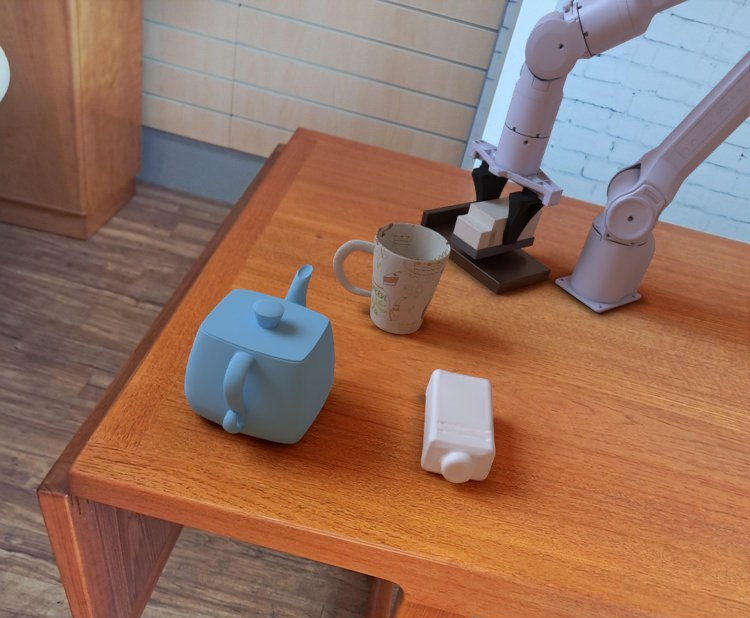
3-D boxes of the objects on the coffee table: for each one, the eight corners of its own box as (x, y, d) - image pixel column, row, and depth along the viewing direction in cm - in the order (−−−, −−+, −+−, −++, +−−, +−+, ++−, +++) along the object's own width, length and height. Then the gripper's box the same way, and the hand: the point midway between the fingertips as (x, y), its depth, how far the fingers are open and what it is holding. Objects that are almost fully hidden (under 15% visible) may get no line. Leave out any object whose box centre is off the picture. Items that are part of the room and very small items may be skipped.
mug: (424, 348, 88) (445, 268, 81) (317, 319, 89) (329, 237, 82) (434, 311, 94) (455, 234, 87) (334, 284, 95) (347, 205, 88)
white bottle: (417, 483, 73) (428, 449, 70) (423, 398, 82) (432, 366, 79) (485, 496, 73) (498, 463, 70) (483, 411, 82) (495, 378, 79)
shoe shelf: (469, 223, 113) (475, 200, 111) (547, 279, 105) (556, 255, 103) (417, 234, 108) (423, 210, 105) (496, 294, 100) (504, 269, 98)
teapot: (351, 371, 83) (370, 275, 75) (290, 477, 70) (305, 374, 62) (242, 335, 84) (249, 236, 76) (162, 433, 71) (161, 326, 63)
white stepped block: (507, 228, 108) (518, 193, 105) (532, 245, 106) (544, 210, 102) (449, 241, 102) (459, 204, 99) (475, 259, 100) (485, 223, 97)
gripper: (464, 106, 95) (437, 212, 105) (548, 157, 88) (512, 266, 98) (504, 102, 99) (475, 205, 108) (588, 151, 92) (549, 256, 101)
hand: (495, 233), depth 103 cm, fingers closed on white stepped block, 4 cm apart
